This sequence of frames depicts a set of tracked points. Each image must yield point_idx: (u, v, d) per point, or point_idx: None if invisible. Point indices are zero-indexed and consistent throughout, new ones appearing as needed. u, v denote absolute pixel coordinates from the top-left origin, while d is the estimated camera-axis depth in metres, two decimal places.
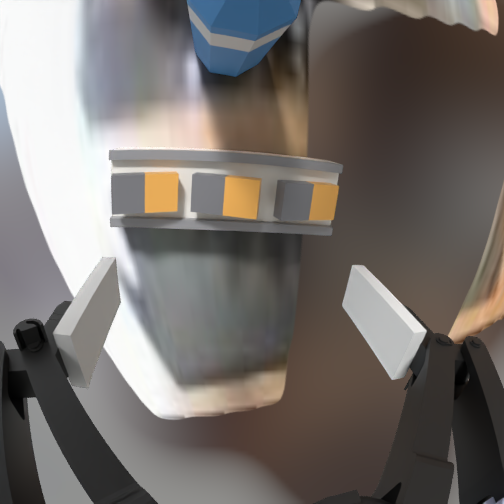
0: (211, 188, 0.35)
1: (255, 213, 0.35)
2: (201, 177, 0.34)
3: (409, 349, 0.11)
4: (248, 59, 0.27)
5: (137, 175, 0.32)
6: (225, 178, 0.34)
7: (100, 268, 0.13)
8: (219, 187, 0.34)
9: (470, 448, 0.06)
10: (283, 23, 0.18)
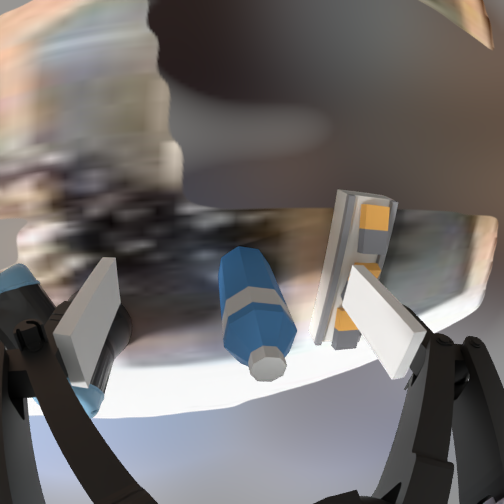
0: None
1: (377, 271, 0.48)
2: None
3: (409, 349, 0.11)
4: (278, 287, 0.46)
5: (338, 335, 0.54)
6: None
7: (100, 268, 0.13)
8: None
9: (470, 448, 0.06)
10: (288, 318, 0.36)
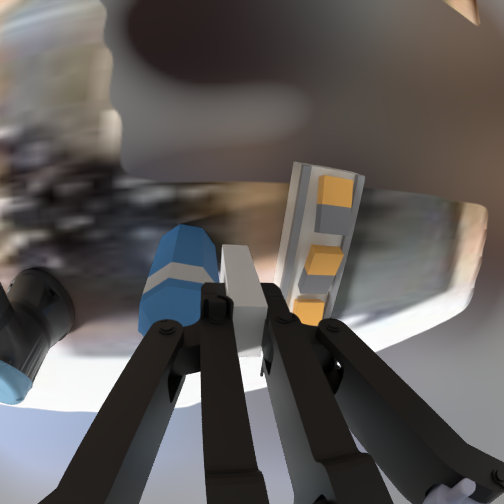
0: (313, 282, 0.45)
1: (339, 255, 0.43)
2: (304, 288, 0.46)
3: (251, 324, 0.12)
4: (215, 268, 0.39)
5: None
6: (308, 274, 0.44)
7: (229, 254, 0.16)
8: (314, 277, 0.45)
9: (383, 444, 0.07)
10: None
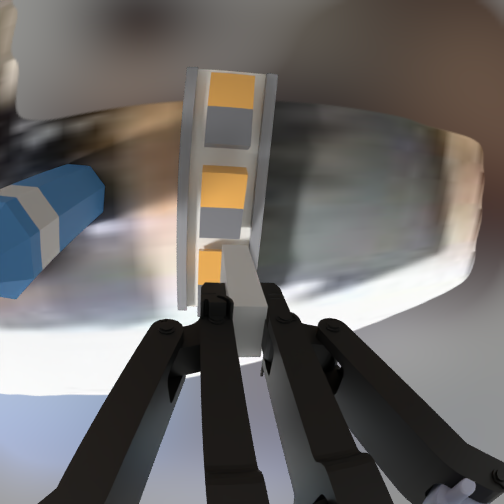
0: (213, 219, 0.33)
1: (240, 175, 0.30)
2: (202, 229, 0.33)
3: (251, 324, 0.12)
4: (73, 199, 0.27)
5: (198, 291, 0.35)
6: (201, 206, 0.32)
7: (229, 254, 0.16)
8: (212, 212, 0.32)
9: (383, 444, 0.07)
10: (14, 214, 0.17)
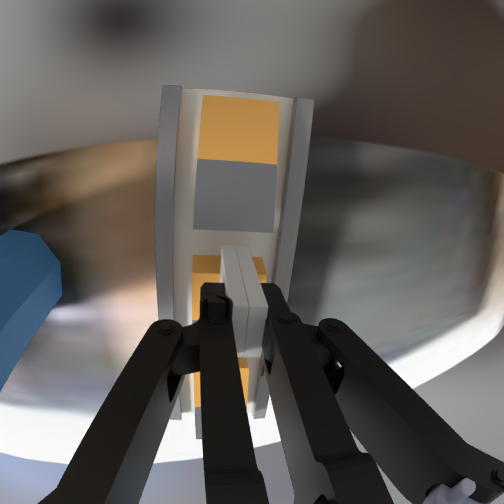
0: None
1: None
2: None
3: (251, 324, 0.12)
4: (7, 308, 0.15)
5: (195, 414, 0.24)
6: (194, 320, 0.20)
7: (229, 254, 0.16)
8: None
9: (383, 444, 0.07)
10: None
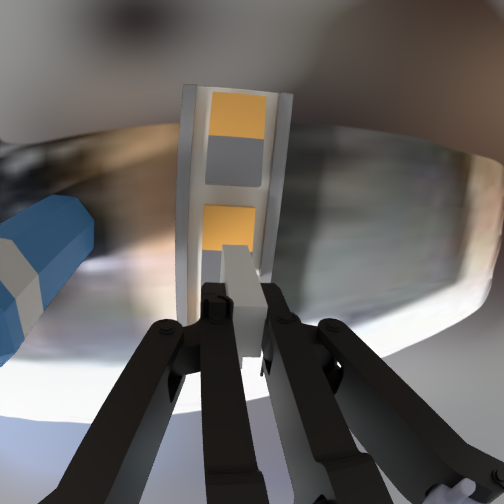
0: (217, 266, 0.28)
1: (247, 209, 0.27)
2: (204, 279, 0.28)
3: (251, 324, 0.12)
4: (56, 246, 0.23)
5: None
6: (203, 249, 0.27)
7: (229, 254, 0.16)
8: (215, 256, 0.27)
9: (383, 444, 0.07)
10: None
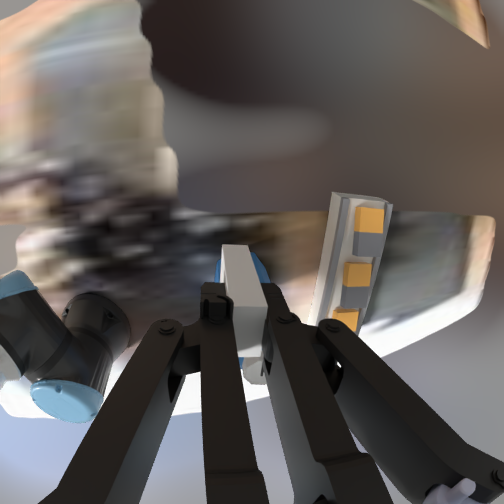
0: (353, 295, 0.51)
1: (368, 265, 0.50)
2: (346, 302, 0.51)
3: (251, 324, 0.12)
4: None
5: None
6: (348, 286, 0.50)
7: (229, 254, 0.16)
8: (353, 289, 0.51)
9: (383, 444, 0.07)
10: None
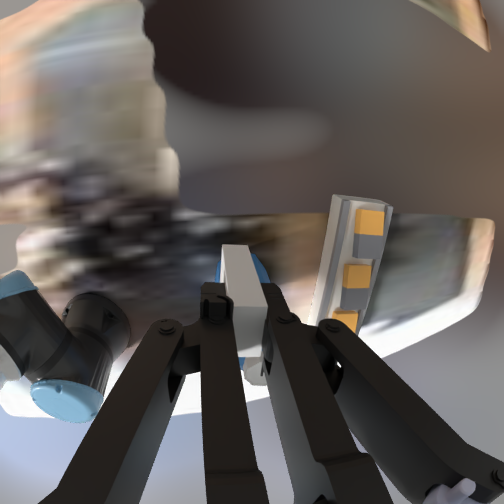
0: (353, 296, 0.51)
1: (368, 266, 0.51)
2: (346, 304, 0.51)
3: (251, 324, 0.12)
4: None
5: None
6: (347, 288, 0.51)
7: (229, 254, 0.16)
8: (353, 291, 0.51)
9: (383, 444, 0.07)
10: None
